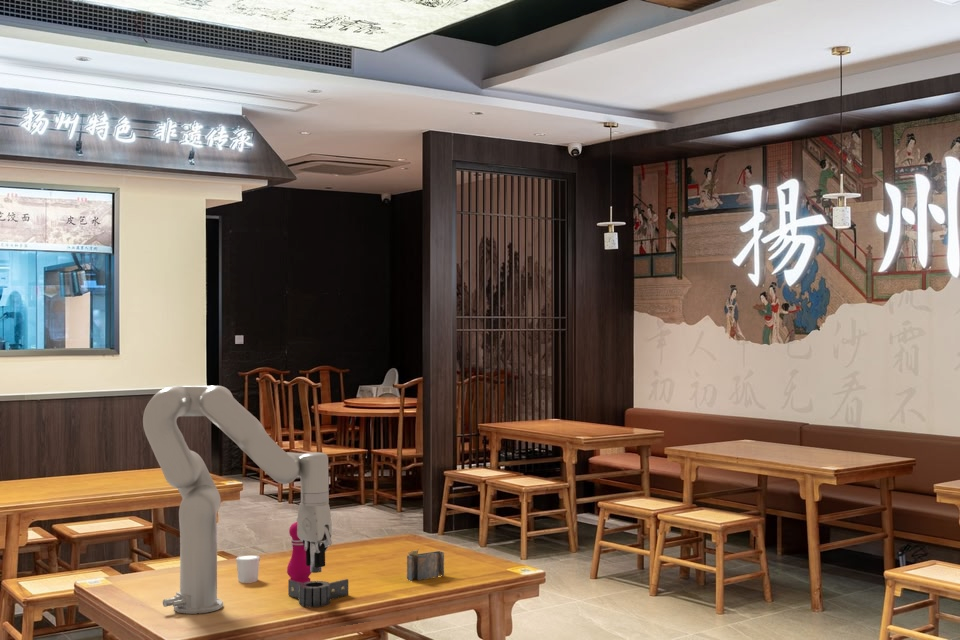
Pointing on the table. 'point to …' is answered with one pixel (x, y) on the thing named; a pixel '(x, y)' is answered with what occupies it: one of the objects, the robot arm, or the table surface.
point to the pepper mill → (298, 558)
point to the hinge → (317, 592)
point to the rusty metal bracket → (425, 565)
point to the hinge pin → (312, 563)
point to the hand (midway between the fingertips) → (315, 565)
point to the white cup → (248, 568)
